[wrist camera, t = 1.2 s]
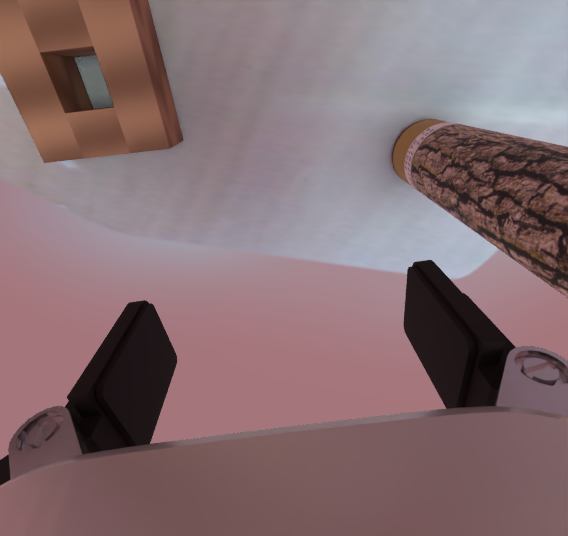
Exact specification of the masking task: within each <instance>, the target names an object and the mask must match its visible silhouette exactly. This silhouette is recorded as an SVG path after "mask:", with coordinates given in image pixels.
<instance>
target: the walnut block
mask: <svg viewBox="0 0 568 536" xmlns="http://www.w3.org/2000/svg"><path fill="white" fill-rule="evenodd" d="M89 55H97V58H98V61H99V64H100V67H101V70H102V73H103V76H104V79H105V82H106V85H107V87H108V90H109V93H110V96H111V99H112V102H113V105H114V107H110V108H101V109H93V107H92V105H91V102H90V99H89V97H88V94H87V91H86V89H85V86H84V83H83V81H82V78H81V75H80V73H79V70H78V67H77V65H76V62H75V59H74V57H80V56H89ZM0 73H1V75H2V77H3V79H4V81H5V83H6V85H7V87H8V89H9V91H10V93H11V95H12V97H13V99H14V102H15V104H16V106H17V108H18V110H19V112H20V114H21V116H22V118H23V120H24V122H25V124H26V126H27V128H28V130H29V132H30V134H31V136H32V138H33V140H34V143H35V145H36V147H37V149H38V151H39V153H40V155H41V157H42V159H43V161H44V163H47V162H56V161H65V160H73V159H82V158H91V157H99V156H108V155H117V154H126V153H134V152H143V151H152V150H160V149H169V148H171V147H173V146H175V145H176V144H178V143H179V142H181V141H182V140H183V138H182V134H181V130H180V126H179V122H178V118H177V114H176V110H175V106H174V102H173V98H172V94H171V90H170V86H169V83H168V79H167V75H166V71H165V67H164V63H163V59H162V55H161V51H160V47H159V43H158V39H157V35H156V31H155V27H154V23H153V19H152V15H151V11H150V7H149V3H148V0H0Z"/></svg>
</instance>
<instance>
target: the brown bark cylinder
mask: <svg viewBox="0 0 568 536" xmlns="http://www.w3.org/2000/svg"><path fill="white" fill-rule="evenodd" d="M393 165H394V168H395V171H396V172H397V174H398V175H399V177H401V178H402V179H403V180H404V181H406V182H407V183H409V184H410V185H411V186H413V187H414V188H415V189H416V190H418V191H419V192H421V193H422V194H423V195H425V196H426V197H428V198H429V199H430V200H432V201H433V202H435V203H436V204H437V205H439V206H440V207H441V208H443V209H444V210H446V211H447V212H448V213H450V214H451V215H453V216H454V217H455V218H457V219H458V220H460V221H461V222H462V223H464V224H465V225H467V226H468V227H469V228H471V229H472V230H473V231H475V232H476V233H478V234H479V235H480V236H482V237H483V238H485V239H486V240H487V241H489V242H490V243H492V244H493V245H494V246H496V247H497V248H499V249H500V250H501V251H503V252H505V254H507V255H508V256H510V257H511V258H512V259H514V260H515V261H517V262H518V263H519V264H521V265H522V266H524V267H525V268H526V269H528V270H529V271H531V272H532V273H533V274H535V275H536V276H537V277H539V278H540V279H542V280H543V281H544V282H546V283H547V284H549V285H550V286H551V287H553V288H554V289H556V290H557V291H558V292H560V293H561V294H563V295H564V296H566V297H567V298H568V147H566V146H561V145H556V144H551V143H547V142H542V141H537V140H532V139H528V138H523V137H518V136H513V135H508V134H504V133H499V132H494V131H489V130H485V129H480V128H475V127H470V126H465V125H461V124H456V123H450V122H445V121H440V120H435V119H428V120H423V121H420V122H417V123H415V124H413V125H412V126H410V127H409V128H408V129H407V130H406V131H405V132H404V133H403V134H402V135H401V136H400V138H399V139H398V141H397V143H396V145H395V148H394V152H393Z"/></svg>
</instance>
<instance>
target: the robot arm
mask: <svg viewBox="0 0 568 536" xmlns="http://www.w3.org/2000/svg"><path fill="white" fill-rule="evenodd" d="M404 330H405V333H406V335H407V337H408V339H409V341H410V342H411V344H412V346H413V348H414V350H415V352H416V353H417V355H418V357H419V359H420V361H421V363H422V364H423V366H424V368H425V370H426V372H427V374H428V375H429V377H430V379H431V381H432V383H433V385H434V386H435V388H436V390H437V392H438V394H439V396H440V397H441V399H442V401H443V403H444V405H445V407H446V409H439V410H430V411H420V412H409V413H400V414H391V415H383V416H376V417H375V416H374V417H366V418H357V419H348V420H340V421H331V422H323V423H314V424H306V425H298V426H290V427H282V428H273V429H265V430H257V431H249V432H240V433H233V434H224V435H216V436H209V437H201V438H193V439H185V440H177V441H170V442H162V443H154V444H150V441H151V439H152V436H153V433H154V430H155V426H156V424H157V420H158V418H159V415H160V412H161V408H162V406H163V402H164V400H165V397H166V394H167V391H168V388H169V385H170V382H171V379H172V376H173V373H174V370H175V367H176V364H177V355H176V353H175V351H174V348H173V346H172V344H171V342H170V341H169V338H168V335H167V333H166V331H165V329H164V327H163V324H162V322H161V320H160V318H159V316H158V314H157V312H156V309H155V307H154V305H153V304H149V303H148V302H147V301H145V300H144V301H137V302H131V303H128V304H127V306H126V307H125V309H124V311H123V312H122V314H121V315H120V317H119V318H118V320H117V321H116V323H115V324H114V326H113V327H112V329H111V330H110V332H109V334H108V335H107V337H106V338H105V340H104V341H103V343H102V344H101V346H100V347H99V349H98V350H97V352H96V354H95V355H94V357H93V358H92V360H91V361H90V363H89V364H88V366H87V367H86V369H85V370H84V372H83V374H82V375H81V376H80V378H79V380H78V381H77V383H76V384H75V386H74V387H73V389H72V390H71V392H70V393H69V395H68V396H67V398H68V400H69V402H68V403H67V405H66V406H65V407H63V406H54V407H51V408H47V409H45V410H43V411H41V412H39V413H37V414H36V415H34V416H33V417H31V418H30V419H28V420H27V421H26V422H25V423H24V424H23V425H22V426H21V427H20V428H19V429H18V430H17V431H16V433H15V434H14V435H13V437H12V439H11V441H10V443H9V449H8V451H9V455H7V456H6V457H4V458H3V459H1V460H0V536H568V361H567V360H566V359H565V358H563V357H561V356H559V355H558V354H556V353H554V352H551V351H549V350H546V349H543V348H539V347H534V346H521V347H515V346H514V345H513V344H512V343H511V342H510V341H509V340H508V339H507V338H506V336H504V334H503V333H502V332H501V331H500V330H499V329H498V328H497V327H496V326H495V325H494V324H493V323H492V321H491V320H490V319H489V318H488V317H487V316H486V315H485V314H484V313H483V312H482V311H481V310H480V309H479V308H478V307H477V305H476V304H475V303H474V302H473V301H472V300H471V299H470V298H469V297H468V296H467V295H466V294H464V293H462V292H461V291H460V290H459V289H458V288H457V287H456V286H455V285H454V284H453V282H452V281H451V280H450V279H449V278H448V277H447V276H446V275H445V274H444V273H443V272H442V270H441V269H440V268H439V267H438V266H437V265H436V264H435V263H434V262H433V261H432V260H426V261H419V262H414V263H413V266H412V267H409V268H408V272H407V286H406V300H405V312H404Z"/></svg>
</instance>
